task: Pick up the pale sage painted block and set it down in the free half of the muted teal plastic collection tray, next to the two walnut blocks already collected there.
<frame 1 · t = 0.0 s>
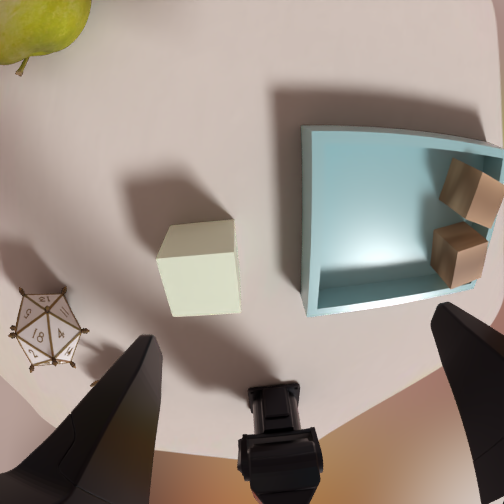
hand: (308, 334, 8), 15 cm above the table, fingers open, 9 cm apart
apple: (65, 21, 13), on the table
walnut block A: (447, 243, 24), point 1 cm above the table, touching tray
game die: (62, 303, 26), on the table
walnut block B: (459, 184, 20), point 1 cm above the table, touching tray
tray: (405, 214, 23), on the table
sage block: (206, 249, 24), on the table
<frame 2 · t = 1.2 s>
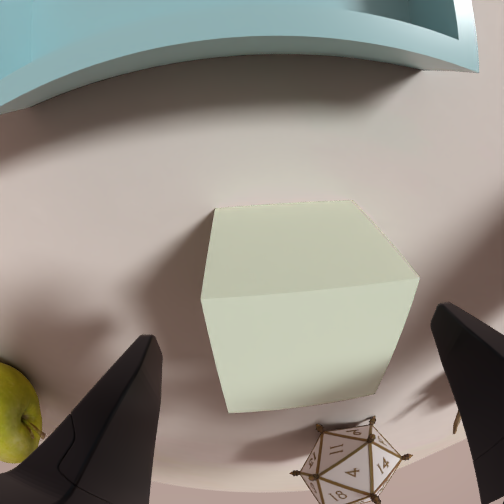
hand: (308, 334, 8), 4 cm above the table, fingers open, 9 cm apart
apple: (16, 371, 16), on the table
game die: (340, 425, 20), on the table
sage block: (286, 261, 12), on the table
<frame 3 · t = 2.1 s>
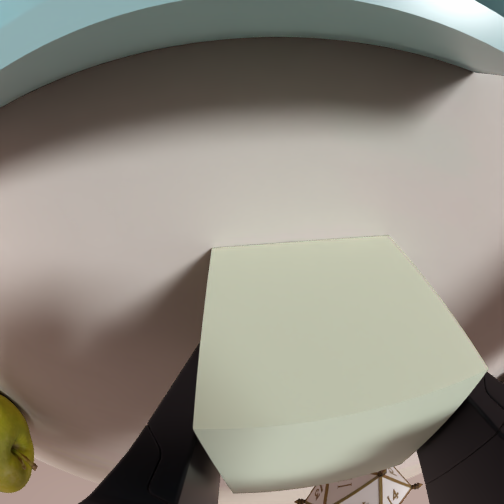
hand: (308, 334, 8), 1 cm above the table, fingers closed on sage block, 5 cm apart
apple: (4, 397, 14), on the table
game die: (348, 453, 18), on the table
sage block: (302, 310, 9), on the table, touching gripper
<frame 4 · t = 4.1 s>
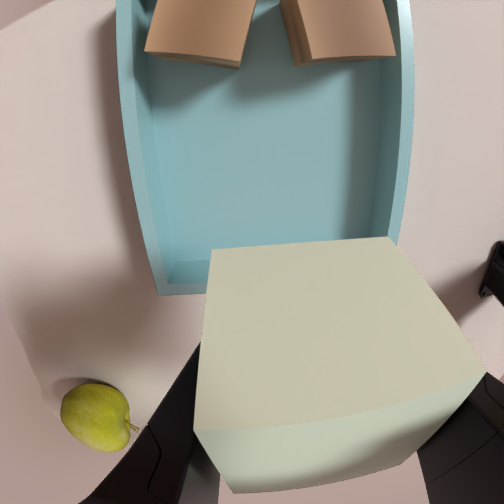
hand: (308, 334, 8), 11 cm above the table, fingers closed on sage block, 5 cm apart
apple: (108, 388, 28), on the table
walnut block A: (322, 31, 12), point 1 cm above the table, touching tray
walnut block B: (210, 31, 12), point 1 cm above the table, touching tray
tray: (270, 121, 15), on the table
sage block: (302, 311, 9), point 10 cm above the table, touching gripper
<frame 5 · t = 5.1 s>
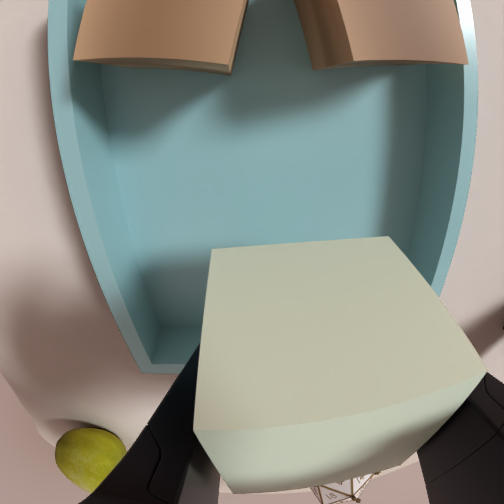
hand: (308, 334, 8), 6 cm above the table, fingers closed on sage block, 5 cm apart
apple: (103, 430, 24), on the table
walnut block A: (350, 19, 8), point 1 cm above the table, touching tray
game die: (333, 450, 29), on the table
walnut block B: (187, 21, 8), point 1 cm above the table, touching tray
tray: (277, 149, 11), on the table
sage block: (302, 311, 9), point 5 cm above the table, touching gripper
when the fingers open (3 cm above the table, at t = 6.0 s): sage block drops 1 cm, resting on tray.
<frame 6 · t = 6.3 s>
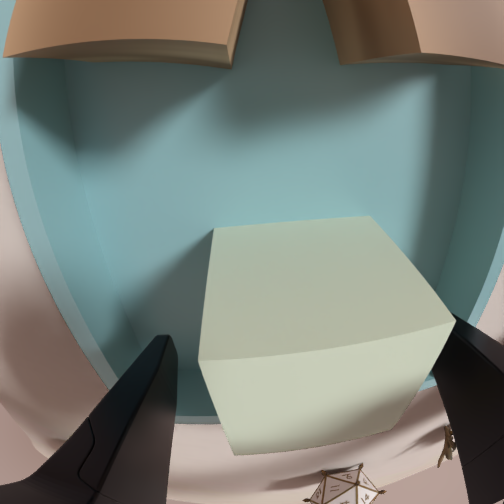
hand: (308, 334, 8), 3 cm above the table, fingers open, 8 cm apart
eagle figurine: (464, 417, 24), on the table
walnut block A: (385, 4, 5), point 1 cm above the table, touching tray
game die: (338, 469, 26), on the table
tray: (291, 167, 9), on the table
sage block: (295, 285, 10), point 1 cm above the table, touching tray
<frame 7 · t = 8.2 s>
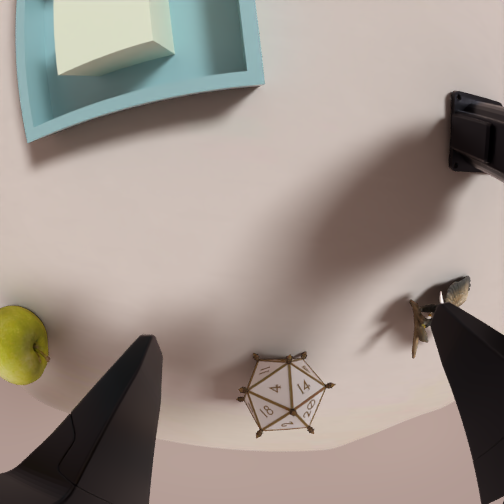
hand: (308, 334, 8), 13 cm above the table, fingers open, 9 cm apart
eagle figurine: (436, 298, 26), on the table
apple: (31, 318, 24), on the table
game die: (277, 360, 28), on the table
sage block: (131, 29, 12), point 1 cm above the table, touching tray
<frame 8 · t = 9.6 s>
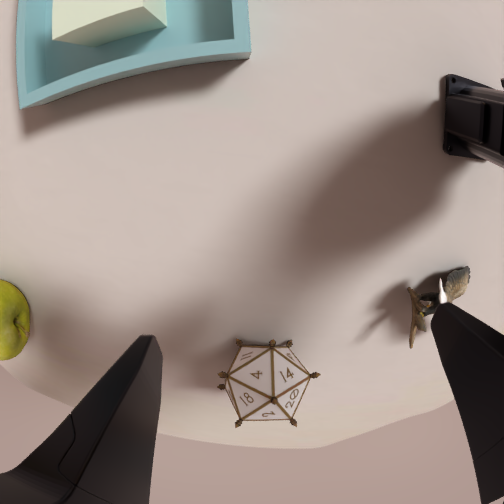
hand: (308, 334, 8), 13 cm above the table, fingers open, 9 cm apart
eagle figurine: (435, 288, 25), on the table
apple: (15, 294, 23), on the table
game die: (262, 348, 28), on the table
sage block: (127, 4, 12), point 1 cm above the table, touching tray
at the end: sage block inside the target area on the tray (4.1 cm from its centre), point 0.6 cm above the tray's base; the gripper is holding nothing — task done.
